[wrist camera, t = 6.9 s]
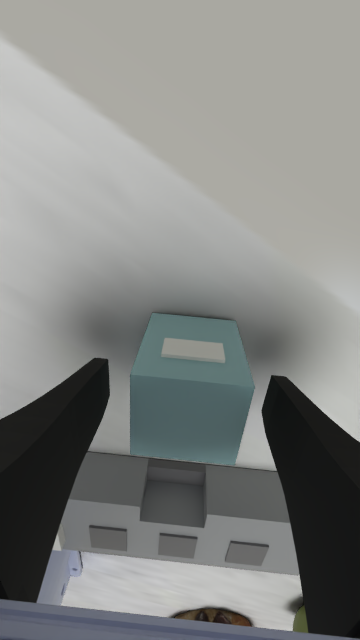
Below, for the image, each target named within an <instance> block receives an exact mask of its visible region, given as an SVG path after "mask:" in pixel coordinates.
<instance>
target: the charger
mask: <svg viewBox="0 0 360 640" xmlns="http://www.w3.org/2000/svg"><path fill="white" fill-rule="evenodd" d="M254 389H255V385H254V382H253V378H252V375H251V372H250V368H249V365H248V361H247V358H246V355H245V351H244V348H243V344H242V341H241V337H240V334H239V331H238V327H237V324H236V321H232V320H221V319H211V318H201V317H191V316H180V315H170V314H160V313H152V315H151V318H150V321H149V323H148V326H147V329H146V332H145V335H144V337H143V340H142V343H141V346H140V348H139V351H138V354H137V357H136V360H135V362H134V365H133V368H132V371H131V373H130V454H132V455H141V456H151V457H160V458H170V459H179V460H189V461H198V462H207V463H217V464H226V465H235V462H236V458H237V454H238V450H239V447H240V443H241V439H242V435H243V431H244V427H245V423H246V420H247V416H248V412H249V408H250V404H251V400H252V396H253V393H254Z"/></svg>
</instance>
